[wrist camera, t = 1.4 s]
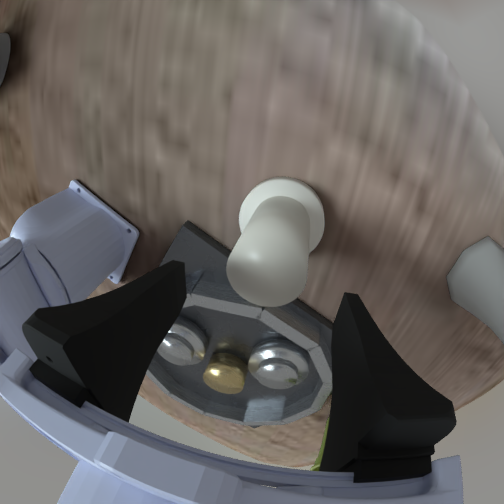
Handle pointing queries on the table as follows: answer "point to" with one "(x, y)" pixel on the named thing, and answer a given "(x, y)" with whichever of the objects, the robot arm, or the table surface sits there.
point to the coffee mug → (4, 54)
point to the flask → (480, 283)
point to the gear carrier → (239, 346)
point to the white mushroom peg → (275, 241)
